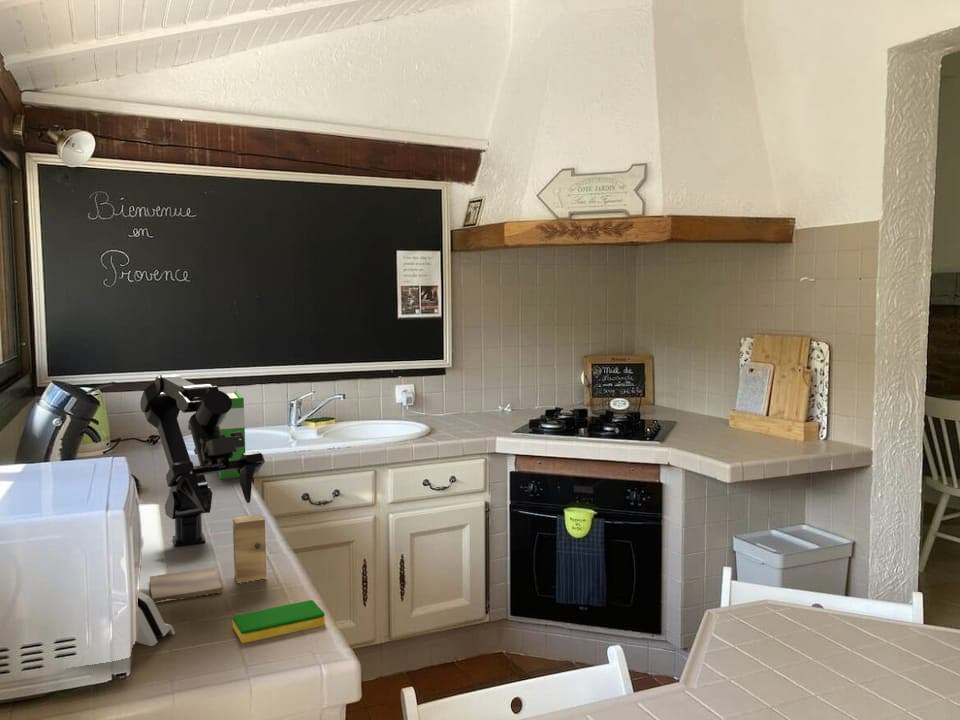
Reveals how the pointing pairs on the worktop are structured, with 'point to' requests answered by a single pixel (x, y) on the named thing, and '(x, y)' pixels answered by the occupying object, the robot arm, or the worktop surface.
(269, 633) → the dish sponge
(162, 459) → the worktop surface
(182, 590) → the base board
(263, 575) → the wooden block
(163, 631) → the grey angled piece
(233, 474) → the carton
